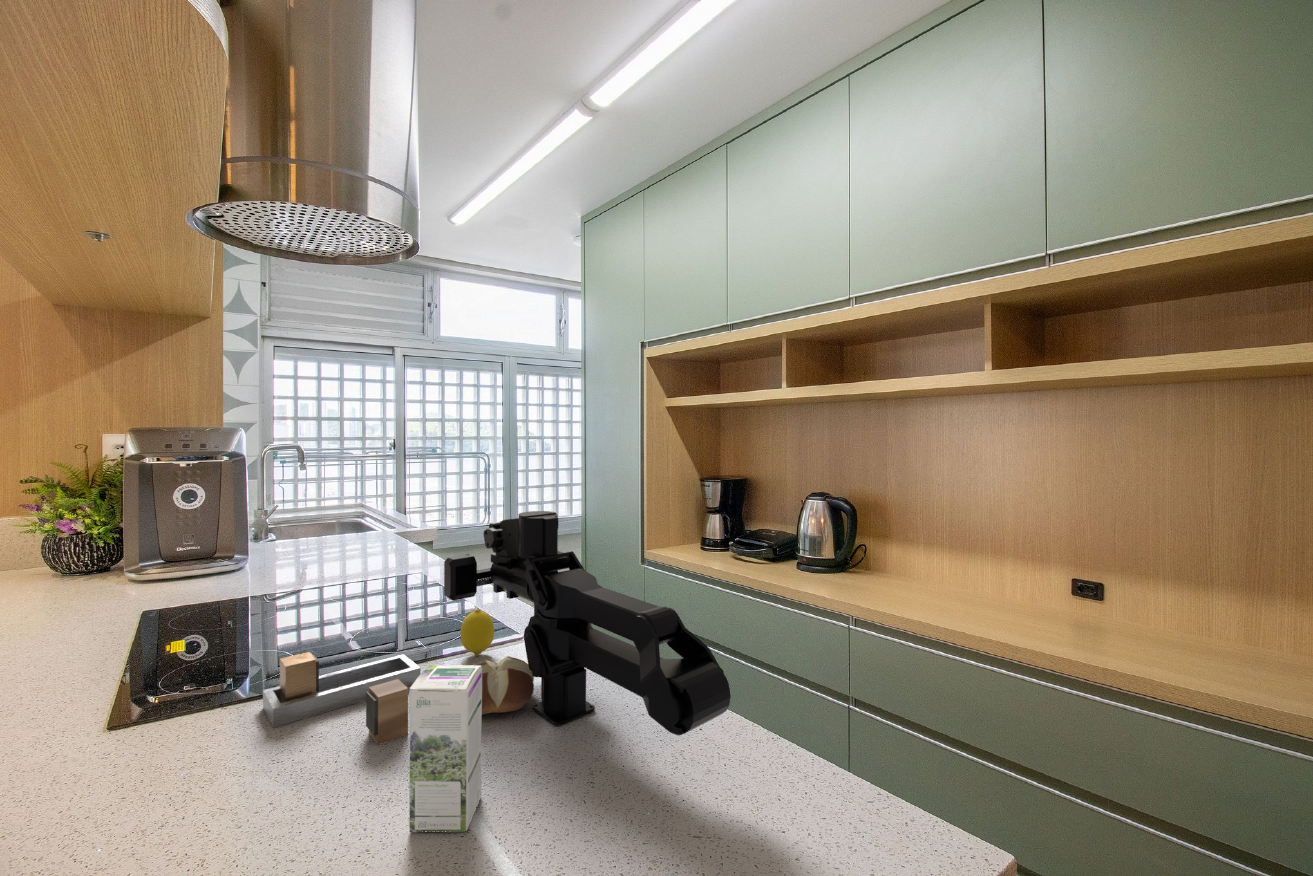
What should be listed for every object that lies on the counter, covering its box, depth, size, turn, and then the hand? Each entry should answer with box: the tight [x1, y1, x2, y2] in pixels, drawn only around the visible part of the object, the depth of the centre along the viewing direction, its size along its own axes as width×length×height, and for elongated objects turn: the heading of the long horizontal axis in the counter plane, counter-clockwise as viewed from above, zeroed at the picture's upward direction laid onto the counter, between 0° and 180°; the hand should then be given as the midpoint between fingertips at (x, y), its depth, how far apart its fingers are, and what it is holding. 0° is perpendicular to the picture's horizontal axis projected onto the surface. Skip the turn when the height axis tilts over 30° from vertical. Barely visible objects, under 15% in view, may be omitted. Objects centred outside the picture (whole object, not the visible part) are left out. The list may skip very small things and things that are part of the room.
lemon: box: [460, 608, 495, 656], centre depth 99 cm, size 6×6×8 cm
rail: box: [262, 651, 421, 728], centre depth 84 cm, size 7×19×7 cm, turn 133°
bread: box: [472, 655, 535, 715], centre depth 82 cm, size 11×11×5 cm
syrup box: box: [408, 665, 483, 833], centre depth 58 cm, size 6×6×14 cm
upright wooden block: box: [365, 679, 409, 746], centre depth 74 cm, size 4×4×6 cm
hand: (479, 560), depth 98 cm, fingers open, 9 cm apart
